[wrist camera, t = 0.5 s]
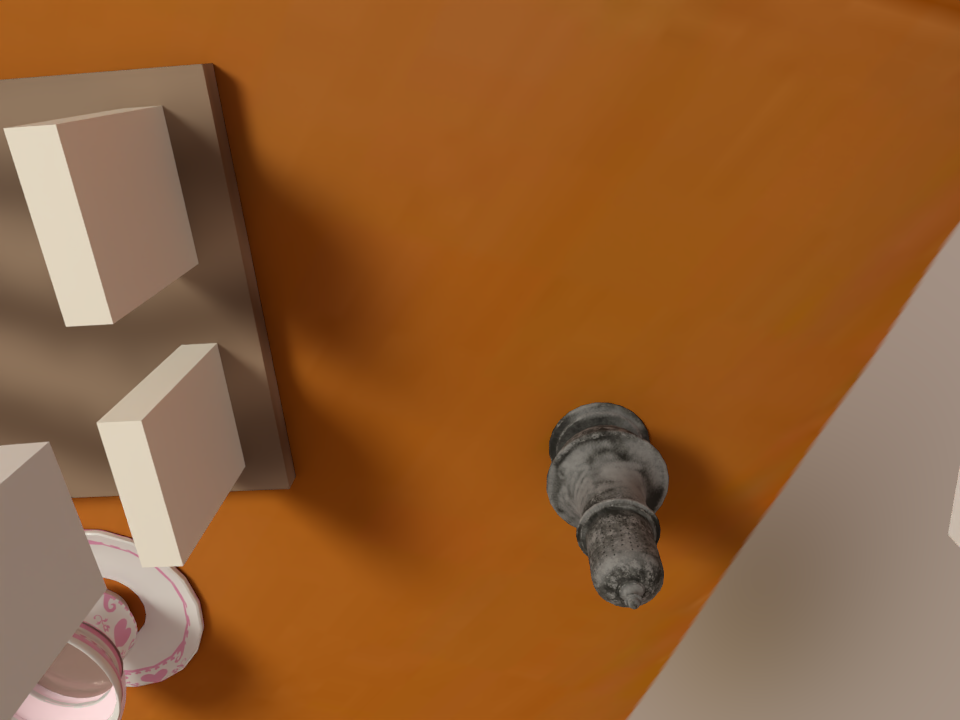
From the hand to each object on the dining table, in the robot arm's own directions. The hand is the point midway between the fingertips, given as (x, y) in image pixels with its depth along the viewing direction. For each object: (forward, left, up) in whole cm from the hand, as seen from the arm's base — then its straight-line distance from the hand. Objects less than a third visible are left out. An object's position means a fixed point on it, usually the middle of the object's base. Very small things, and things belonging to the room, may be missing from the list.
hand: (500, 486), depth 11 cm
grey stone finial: (+14, +4, -25) cm, 29 cm away
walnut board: (+4, -20, -25) cm, 32 cm away
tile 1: (-1, -15, -24) cm, 28 cm away
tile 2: (+10, -15, -24) cm, 30 cm away
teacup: (+24, -26, -25) cm, 43 cm away
